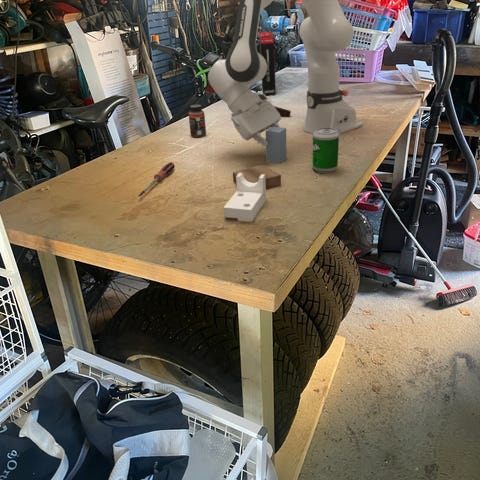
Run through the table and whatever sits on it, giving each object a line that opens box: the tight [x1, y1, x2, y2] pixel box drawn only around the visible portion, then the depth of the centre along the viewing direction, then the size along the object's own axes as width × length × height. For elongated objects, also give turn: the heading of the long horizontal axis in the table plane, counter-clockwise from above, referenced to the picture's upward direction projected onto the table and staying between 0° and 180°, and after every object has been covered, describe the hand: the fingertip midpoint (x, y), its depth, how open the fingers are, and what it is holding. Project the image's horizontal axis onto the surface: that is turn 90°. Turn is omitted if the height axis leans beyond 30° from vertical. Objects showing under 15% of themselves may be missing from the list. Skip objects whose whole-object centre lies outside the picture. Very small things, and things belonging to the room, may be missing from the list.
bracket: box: [223, 173, 267, 223], centre depth 121 cm, size 13×7×8 cm, turn 161°
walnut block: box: [232, 164, 282, 190], centre depth 136 cm, size 10×10×3 cm
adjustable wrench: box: [273, 105, 292, 118], centre depth 201 cm, size 8×3×25 cm
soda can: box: [311, 128, 340, 174], centre depth 140 cm, size 8×8×12 cm
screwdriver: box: [137, 161, 175, 197], centre depth 141 cm, size 25×3×3 cm, turn 165°
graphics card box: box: [258, 31, 277, 97], centre depth 233 cm, size 17×7×27 cm, turn 179°
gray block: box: [264, 126, 288, 164], centre depth 151 cm, size 5×5×10 cm
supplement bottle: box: [188, 104, 207, 138], centre depth 179 cm, size 6×6×11 cm
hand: (274, 140), depth 150 cm, fingers open, 8 cm apart
